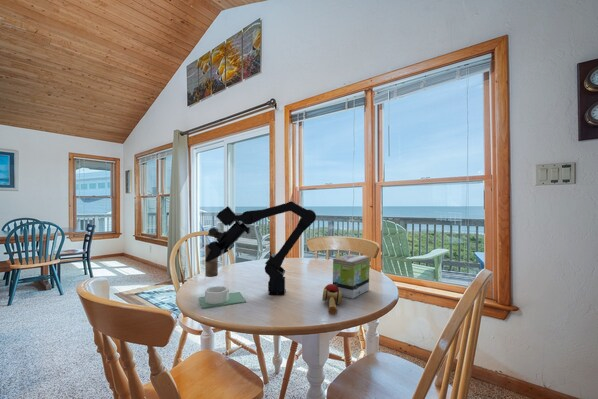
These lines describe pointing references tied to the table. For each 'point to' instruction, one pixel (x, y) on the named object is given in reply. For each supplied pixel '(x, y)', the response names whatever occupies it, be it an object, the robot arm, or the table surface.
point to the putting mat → (220, 297)
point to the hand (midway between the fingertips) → (208, 259)
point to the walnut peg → (210, 265)
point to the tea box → (351, 275)
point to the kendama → (332, 297)
